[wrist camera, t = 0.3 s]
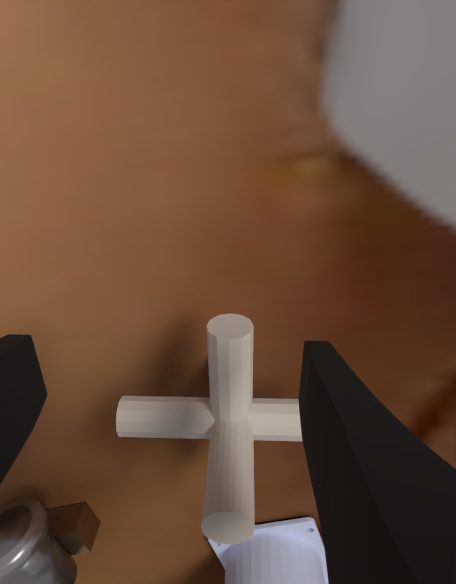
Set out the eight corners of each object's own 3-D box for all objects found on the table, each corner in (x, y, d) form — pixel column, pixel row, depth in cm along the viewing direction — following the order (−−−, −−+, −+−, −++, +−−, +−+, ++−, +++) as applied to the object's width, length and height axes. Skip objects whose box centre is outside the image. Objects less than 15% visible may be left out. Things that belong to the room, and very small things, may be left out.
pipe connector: (155, 415, 25) (105, 599, 16) (135, 269, 21) (50, 417, 12) (318, 419, 25) (357, 610, 16) (337, 269, 20) (405, 424, 11)
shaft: (102, 524, 31) (70, 621, 25) (44, 533, 32) (2, 629, 26) (63, 472, 28) (18, 568, 23) (1, 484, 29) (-56, 579, 24)
